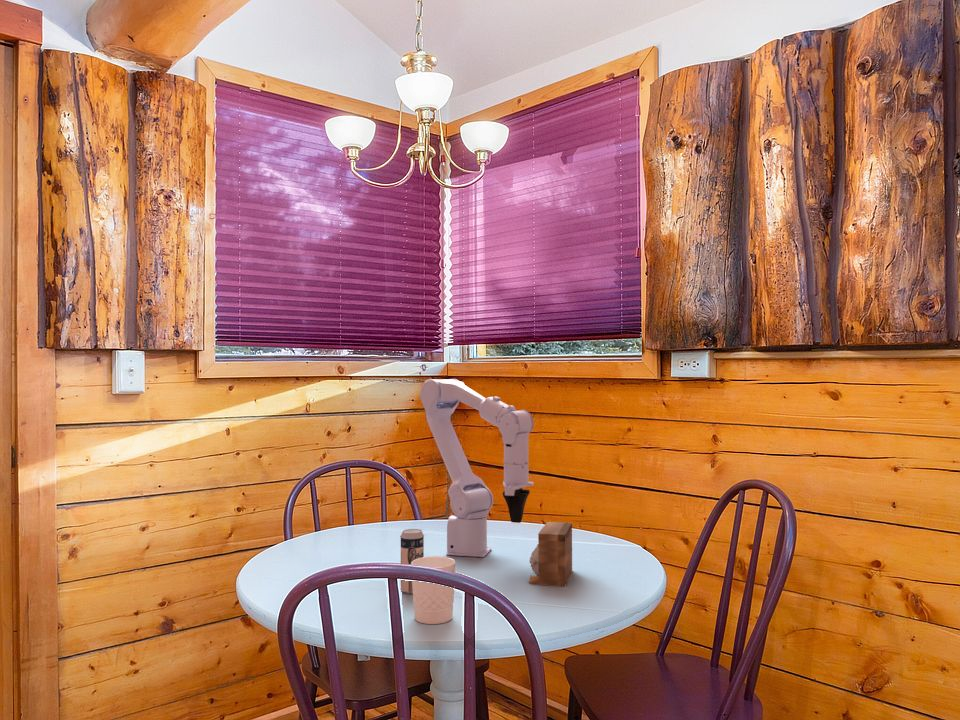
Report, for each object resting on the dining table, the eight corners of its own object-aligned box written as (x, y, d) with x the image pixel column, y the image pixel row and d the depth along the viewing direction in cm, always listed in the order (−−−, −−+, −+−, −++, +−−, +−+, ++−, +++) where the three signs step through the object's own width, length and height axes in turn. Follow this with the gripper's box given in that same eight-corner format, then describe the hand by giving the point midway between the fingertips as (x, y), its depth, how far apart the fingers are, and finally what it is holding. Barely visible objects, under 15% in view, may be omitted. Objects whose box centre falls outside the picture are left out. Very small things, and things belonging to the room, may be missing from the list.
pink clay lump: (562, 574, 154) (562, 542, 154) (550, 583, 148) (550, 549, 148) (536, 571, 157) (536, 539, 157) (524, 579, 150) (523, 546, 151)
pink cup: (403, 622, 125) (403, 565, 125) (423, 608, 132) (422, 554, 132) (445, 628, 122) (444, 569, 122) (462, 613, 129) (462, 558, 129)
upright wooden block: (529, 584, 147) (528, 533, 147) (538, 568, 159) (538, 521, 159) (565, 586, 145) (565, 534, 145) (572, 570, 157) (571, 522, 157)
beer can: (414, 596, 139) (414, 534, 140) (395, 592, 142) (395, 532, 142) (429, 589, 143) (428, 530, 144) (410, 586, 146) (410, 527, 146)
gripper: (526, 467, 156) (526, 529, 155) (539, 459, 170) (539, 516, 169) (495, 466, 158) (495, 527, 157) (510, 458, 172) (510, 515, 171)
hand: (516, 522), depth 164 cm, fingers closed
